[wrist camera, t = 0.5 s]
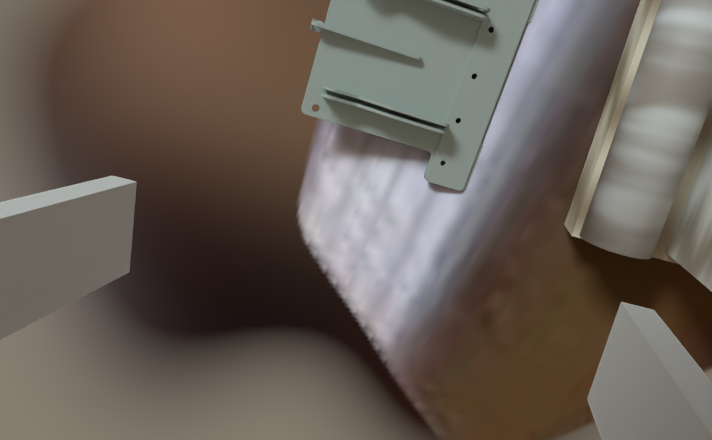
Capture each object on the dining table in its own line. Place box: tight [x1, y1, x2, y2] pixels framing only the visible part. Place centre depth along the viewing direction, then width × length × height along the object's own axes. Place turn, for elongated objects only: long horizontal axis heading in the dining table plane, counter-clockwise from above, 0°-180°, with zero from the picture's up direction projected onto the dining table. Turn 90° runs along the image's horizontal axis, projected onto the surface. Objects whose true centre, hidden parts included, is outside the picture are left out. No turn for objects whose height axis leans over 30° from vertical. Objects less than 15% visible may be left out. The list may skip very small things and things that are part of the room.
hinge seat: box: [564, 0, 712, 292], centre depth 29 cm, size 17×7×12 cm, turn 167°
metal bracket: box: [302, 0, 539, 191], centre depth 36 cm, size 14×6×15 cm
